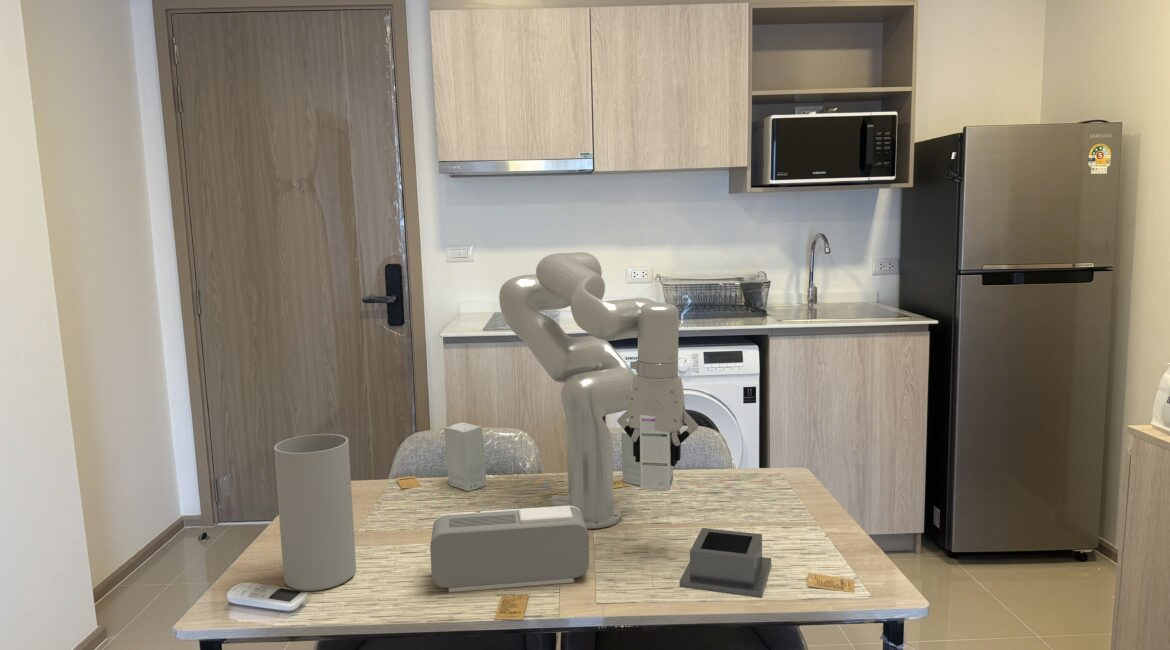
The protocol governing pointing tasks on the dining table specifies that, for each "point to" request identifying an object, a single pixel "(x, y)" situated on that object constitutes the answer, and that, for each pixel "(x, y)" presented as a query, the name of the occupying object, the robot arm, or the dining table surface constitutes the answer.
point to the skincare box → (465, 456)
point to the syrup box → (654, 456)
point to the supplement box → (629, 461)
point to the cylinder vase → (315, 511)
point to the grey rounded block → (509, 548)
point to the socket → (727, 563)
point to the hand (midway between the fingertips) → (656, 461)
